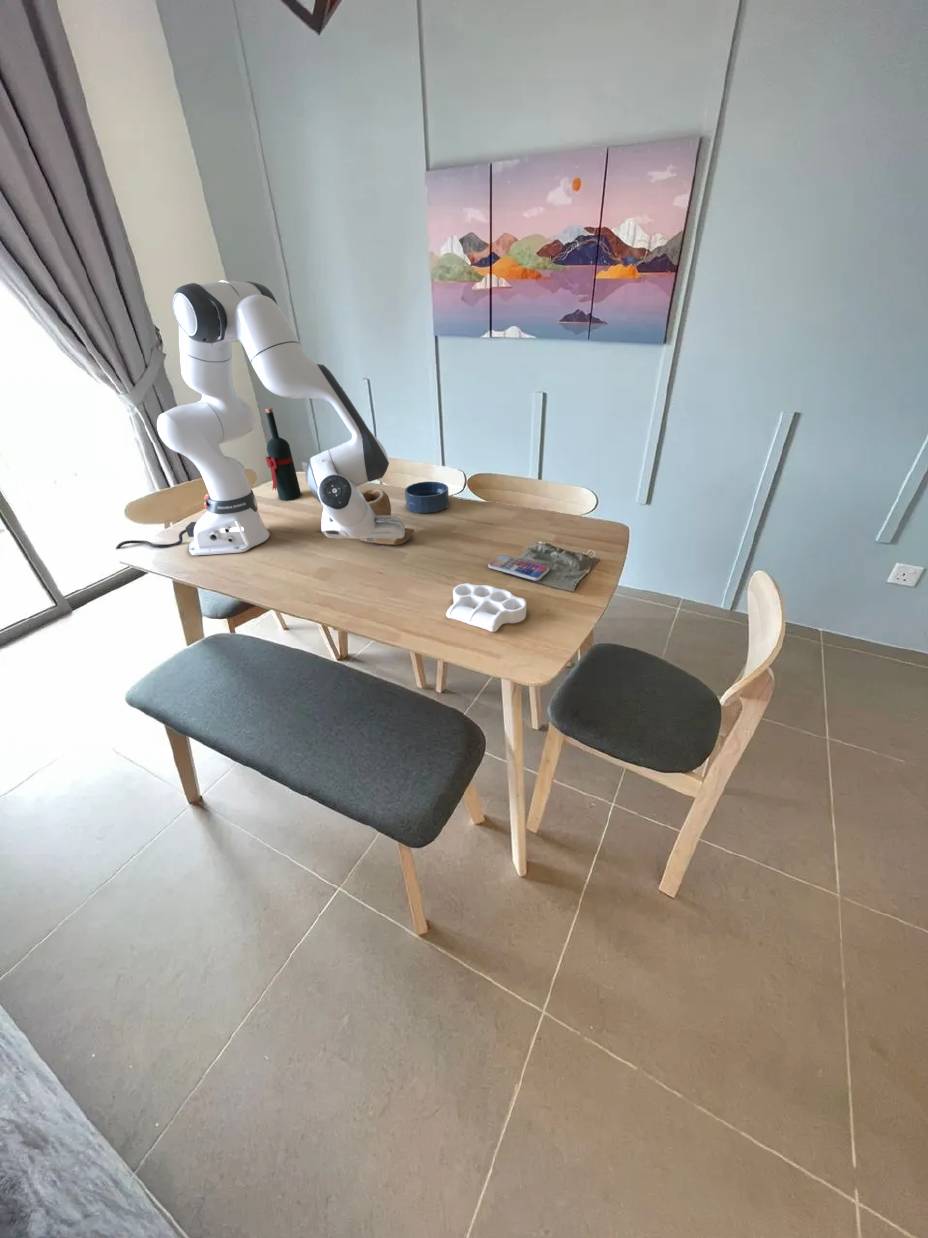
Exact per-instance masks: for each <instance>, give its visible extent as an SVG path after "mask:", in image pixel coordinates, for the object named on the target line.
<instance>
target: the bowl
mask: <svg viewBox="0 0 928 1238" xmlns="http://www.w3.org/2000/svg"><path fill="white" fill-rule="evenodd" d="M404 496H405V497H404V498H405V506H406V508H407V510H409V511H411V512H415V513H422V514H430V513H437V512H439V511H442V510H445V509H447V508H448V507H449V505H450V494H449V486H448V485H447V484H445V483H443V482H440V481H420V482H416V483H412V484H410V485H408V486H407V487H406V488H405V489H404Z"/></svg>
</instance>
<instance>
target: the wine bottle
mask: <svg viewBox="0 0 928 1238" xmlns="http://www.w3.org/2000/svg"><path fill="white" fill-rule="evenodd" d="M264 411H265V415H266V418H267V422H268V426H269V430H270V434H271V438H270V439H269V440H268V442H267V444H266V453H267V456H265V461H266V465H267V467H268V469H270V473H271V480H272V490H275V491H276V492H277V495H278V500H281V501H283V502H284V501H289V502H290V501H294V500H297V499H300V498H301V497H302V492H301V488H300V484H299V480H298V476H297V475H298V474H297V472H296V467H295V462H294V459H293V455H292V450H291V446H290V443H289V442H288V441H287V440H286V439H284V438H283V437H280V435H279V431H278V427H277V423H276V419H275V415H274V414H275V413H274V411H273V407H266V408H264Z"/></svg>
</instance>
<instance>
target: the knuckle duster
mask: <svg viewBox="0 0 928 1238" xmlns="http://www.w3.org/2000/svg"><path fill="white" fill-rule="evenodd" d="M452 595H453V596H452V597H453V604H451V605H450V606H449V608H448V609H447V611H446V613H445V616H446V618H448V619H452V620H455V621H458V622H461V623H464V624H467V625H470V626H474V627H476V628H480V629H483V630H486V631H488V632H492V633H495V632H497V631H498V630H499V629H500V627H501V626H503V625H505V624H517V623H520V622H522V621H525V619H526V617H527V601H526V600H525V598H523V597H519V596H516V595H513V593H511V591H509V590H506V589H505V588H502V589H501V588H496V587H494V586H492V585H487V584H481V585H476V584H471V583H469V582H466V583H460V584H457V585H456V586H455V587H454V588H453V590H452Z"/></svg>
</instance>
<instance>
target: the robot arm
mask: <svg viewBox="0 0 928 1238" xmlns="http://www.w3.org/2000/svg"><path fill="white" fill-rule="evenodd" d="M172 309H173V314H174V316H175V317H174V318H175V319H176V321H177V324H178V349H179V361H180V373H181V377H182V379H183V381H184V382H185V384H186V385H187V386H188V387H189V388H190V389H191V390H193V391H195V392H196V393H198V394H200V395H201V399H200V400H199V401H196V402H190V403H187V404H186V403H185V404H182V405H177V406H174V407H172V408H169V409H168V410H166V411H164V412H163V413H160V414H159V415H158V417H157V421H156V429H157V433H158V436H159V438H160V440H161V442H163V443H164V445H165V446H166V447H167V448H169V449H170V450H171V451H172V452H176V453H178V454H180V455H182V456H184V457H186V458H187V459H188V460H189V461H191V463H192V464H193V465H194V466H195V467H196V468H197V470H198V471H199V473H200V475H201V478H202V479H203V482H204V484H205V486H206V487H205V488H206V490H207V492H208V493H206V494H205V496H204V498H203V499H204V501H203V503H204V504H203V505H204V509H206V511H205V512H204V513H203V515H202V516H201V517H199V519H198V520H196V521H190V523H189V524H188V525H187V526H185V529H183V530H181V531H180V532H179V534H178V541H176V542H174V543H167V544H165V543H159V544H158V543H152V542H150V541H148V540H132V539H131V540H124V541H121V542H119V543H118V544H117V545H116V546H115V550H118V549H121V547H122V546H124V545H128V544H146V545H147V546H149V547H153V548H170V547H174V546H179V545H181V544H182V543H183V535H184V534H186V533H187V536H188V537H189V538H193V539H192V540H191V541H190V543H189V545H188V551H189V554H191V555H192V556H209V555H210V556H211V555H222V554H223V555H224V554H238V553H245V552H247V551H249V550H250V549H251V548H253V547H256V546H258V545H260V544H262V543H264V542H266V541H267V540H268V539H269V538H270V532H269V530H268V528H266V525H265V524H264V521H263V519H262V518H261V515H260V512H259V506H258V501H257V499H256V495H255V493H254V491H253V489H252V488H251V486H250V482H249V478H248V475H247V472H246V468H245V466H244V465H243V464H242V462H240V461H239V460H238V459H236V458H234V457H231V456H226V455H225V454H224V453H223V452H222V449H221V447H220V445H222V444H225V443H227V442H233V441H235V440H238V439H241V438H243V437H245V436H246V435H248V434H249V433H250V432H252V431H253V430H254V428H255V422H256V421H255V420H256V419H255V414H254V411H253V409H252V407H251V406H250V404H249V403H248V402H247V401H246V400H245V399H243V398H242V397H240V396H239V395H238V394H237V392H236V389H235V386H234V381H233V357H232V356H233V355H232V353H233V352H232V351H233V350H232V349H233V348H232V343H237V342H240V344H241V345H242V347H243V348H244V351H245V354H246V355H247V357H248V359H249V362H250V364H251V366H252V368H253V370H254V372H255V373H256V375H257V377H258V379H259V380H260V382H261V383H262V385H263V386H264V387H265V388H266V390H268V391H269V392H271V393H272V394H274V395H276V396H278V397H282V398H285V399H295V400H296V399H298V400H303V399H304V400H305V399H313V400H314V399H315V400H322V401H325V402H327V403H329V404H330V405H331V406H332V407H333V408H334V410H335V411H336V413H337V414H338V416H339V417H340V419H341V420H342V422H343V424H344V425H345V426H346V428H347V429H348V431H349V433H350V434H351V438H350V439H349V440H348V441H345V442H342V443H341V444H338V445H336V446H334V447H331V448H329V449H326V450H324V451H322V452H319V453H318V454H315V455H312V456H311V457H310V458H309V459H308V461H307V464H306V468H305V472H304V473H305V479H306V482H307V486H308V488H309V489H310V491H311V493H312V496H313V497H314V498H315V499H316V500H317V501H318V502H319V504H321V506H322V507H323V508H322V514H321V521H320V522H321V526H320V527H321V532H322V533H323V534H324V535H325V537H327V538H329V539H358V540H360V539H359V538H361V539H365V540H366V541H377V538H403V537H404V535H405V528H406V525H405V523H404V522H403V520H401V519H400V518H399V517H397V516H395V515H391V516H390V515H375V513H374V511H373V510H372V508H371V507H370V505H369V504H368V502H367V501H366V500H365V498H364V496H363V495H362V493H361V492H362V491H361V490H360V489H359V488H358V487H360V486H362V485H364V484H366V483H371V482H373V481H374V482H375V481H377V480H380V479H382V478H384V476H385V475H386V472H387V471H388V467H389V465H390V461H389V457H388V454H387V451H386V449H385V448H384V446H383V444H382V443H381V442H380V440H379V439H378V438H377V437H376V435H374V434H373V432H372V431H371V430H370V429H369V427H368V426H367V424H366V423H365V420H364V419H363V417H362V416H361V414H360V413H359V411H358V409H357V408H356V407H355V405H354V403H353V402H352V400H351V399H350V398H349V396H348V395H347V393H346V391H345V390H344V389H343V387H342V386H341V385H340V384H339V382H338V380H337V379H336V377H335V376H334V374H333V373H332V372H331V370H330V369H329V368H327V366H325V365H324V364H320V363H316V362H314V361H313V360H312V359H311V358H310V357H309V356H308V355H307V354H306V352H305V351H304V349H303V347H302V345H301V343H300V341H299V339H298V338H297V335H296V333H295V331H294V329H293V328H292V326H291V324H290V322H289V321H288V319H287V318H286V316H285V315H284V313H283V312H282V309H280V306H279V305H278V302H277V300H276V297H275V296H274V294H273V293H272V291H271V290H270V289H269V288H268V287H267V286H265V285H264V284H261V283H258V282H255V281H238V280H219V281H208V282H202V283H196V282H191V283H187V284H184V285H181V286H179V287H177V288H176V289H175V291H174V294H173V299H172Z"/></svg>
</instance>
